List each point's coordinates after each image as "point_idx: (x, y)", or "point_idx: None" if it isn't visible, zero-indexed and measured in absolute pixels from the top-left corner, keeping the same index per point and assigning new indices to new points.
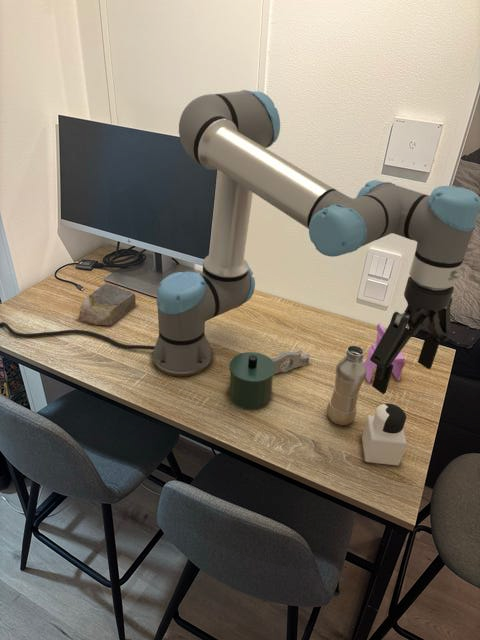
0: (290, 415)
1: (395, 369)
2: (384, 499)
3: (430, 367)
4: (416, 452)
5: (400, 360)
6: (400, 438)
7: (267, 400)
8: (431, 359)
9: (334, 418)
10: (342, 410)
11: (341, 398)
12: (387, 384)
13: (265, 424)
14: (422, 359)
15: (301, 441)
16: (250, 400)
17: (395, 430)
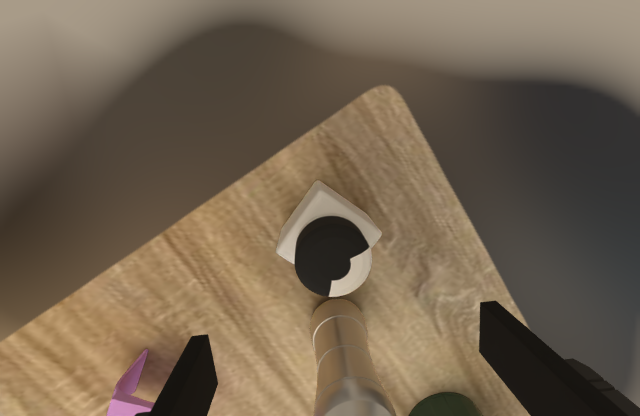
0: (412, 357)
1: (133, 377)
2: (396, 134)
3: (196, 339)
4: (258, 188)
5: (126, 397)
6: (325, 205)
7: (434, 402)
8: (189, 374)
9: (364, 318)
10: (360, 326)
11: (368, 353)
12: (515, 329)
13: (464, 357)
14: (207, 389)
15: (435, 302)
16: (476, 414)
17: (345, 220)
